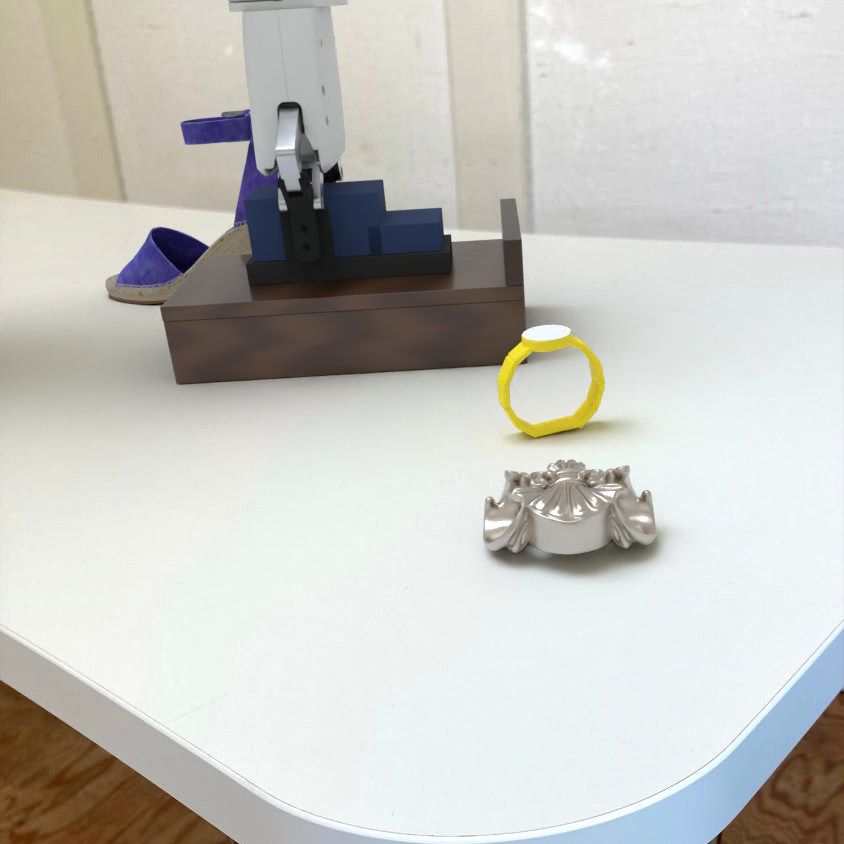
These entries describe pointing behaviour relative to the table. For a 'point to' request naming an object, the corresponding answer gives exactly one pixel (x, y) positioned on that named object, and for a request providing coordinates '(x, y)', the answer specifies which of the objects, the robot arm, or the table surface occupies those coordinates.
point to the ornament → (568, 510)
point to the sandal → (181, 253)
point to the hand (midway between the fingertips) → (321, 253)
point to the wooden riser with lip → (350, 317)
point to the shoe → (351, 237)
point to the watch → (547, 341)
